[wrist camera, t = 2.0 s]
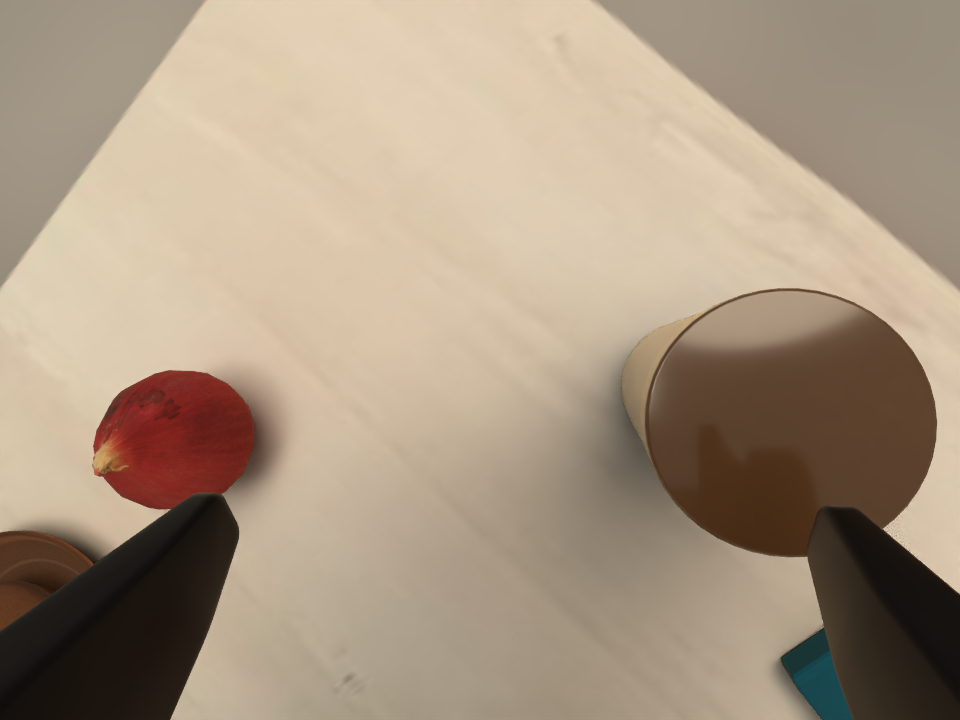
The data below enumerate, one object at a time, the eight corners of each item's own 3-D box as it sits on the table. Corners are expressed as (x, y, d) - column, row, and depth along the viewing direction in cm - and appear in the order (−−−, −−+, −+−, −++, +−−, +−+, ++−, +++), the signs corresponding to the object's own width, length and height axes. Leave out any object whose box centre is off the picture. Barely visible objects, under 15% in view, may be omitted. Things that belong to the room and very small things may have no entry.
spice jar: (742, 469, 24) (898, 593, 12) (606, 435, 25) (618, 516, 13) (775, 336, 24) (972, 318, 11) (636, 307, 25) (678, 264, 12)
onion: (164, 397, 29) (5, 414, 21) (258, 348, 28) (127, 347, 20) (208, 504, 29) (63, 561, 21) (305, 458, 28) (191, 501, 20)
